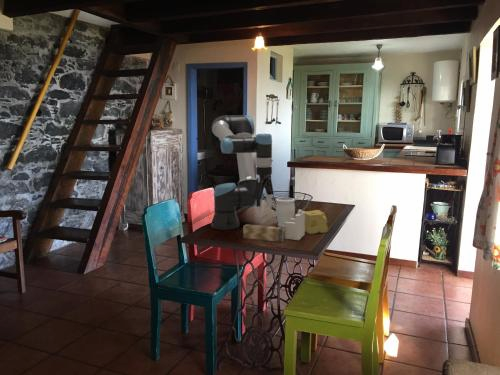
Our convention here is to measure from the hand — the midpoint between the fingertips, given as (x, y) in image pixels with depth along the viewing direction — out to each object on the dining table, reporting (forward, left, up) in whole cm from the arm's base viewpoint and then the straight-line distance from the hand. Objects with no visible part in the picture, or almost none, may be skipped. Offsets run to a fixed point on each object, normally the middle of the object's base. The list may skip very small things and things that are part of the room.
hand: (264, 210), depth 203 cm
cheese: (+19, +23, -15) cm, 33 cm away
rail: (0, 0, -14) cm, 14 cm away
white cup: (+2, +28, -15) cm, 32 cm away
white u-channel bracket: (+14, +9, -14) cm, 22 cm away
